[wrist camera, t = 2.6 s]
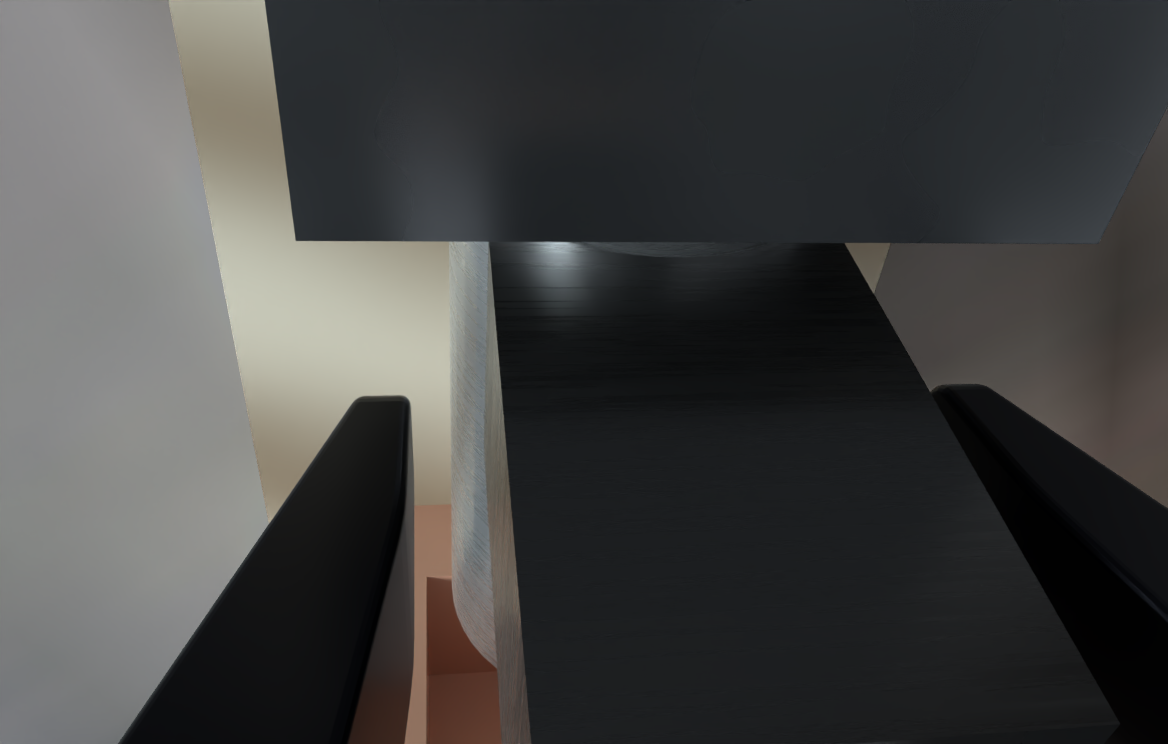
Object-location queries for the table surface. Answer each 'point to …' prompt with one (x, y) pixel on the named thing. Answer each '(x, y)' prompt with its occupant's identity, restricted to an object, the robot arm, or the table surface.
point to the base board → (316, 274)
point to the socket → (445, 649)
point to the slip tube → (729, 511)
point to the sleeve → (715, 118)
